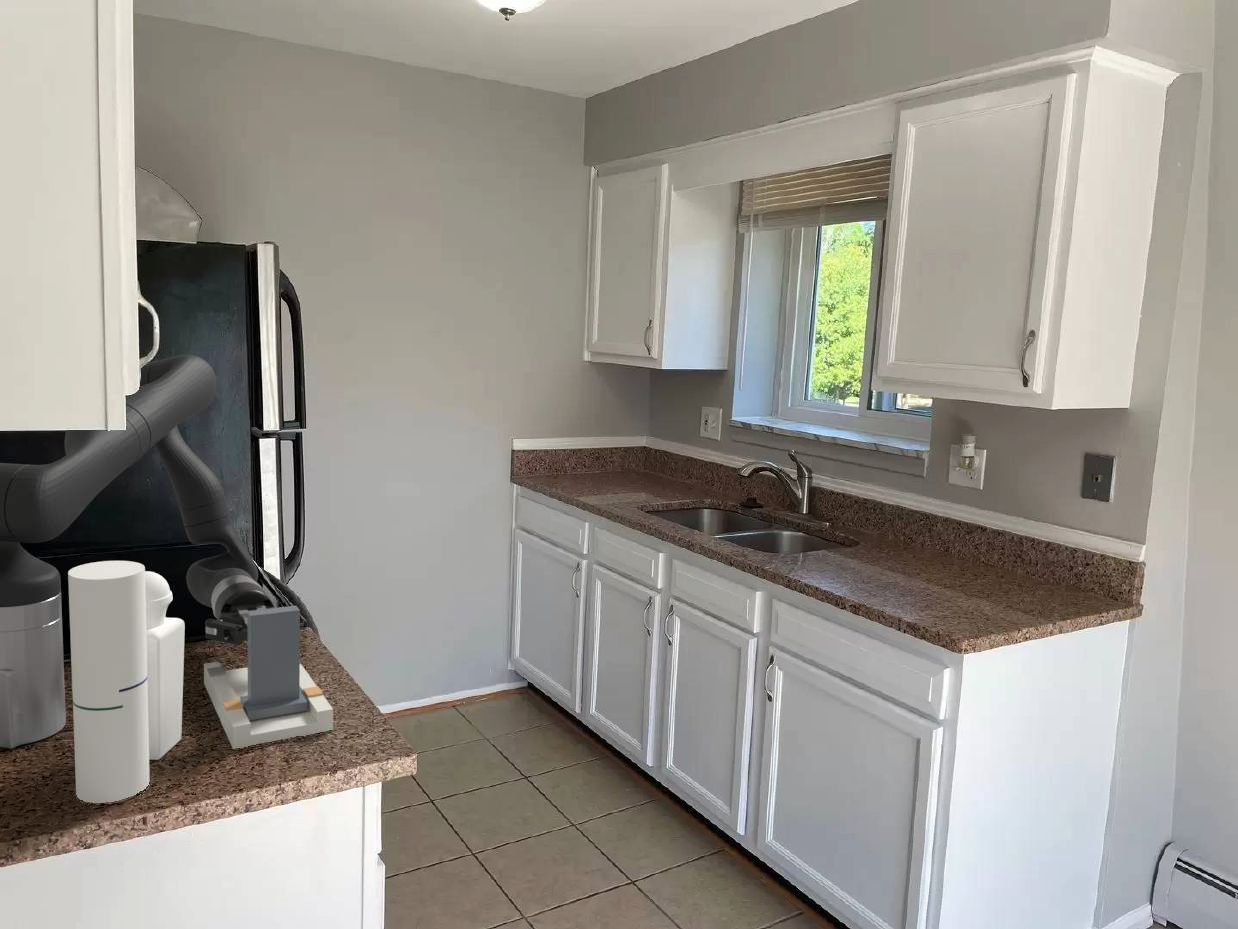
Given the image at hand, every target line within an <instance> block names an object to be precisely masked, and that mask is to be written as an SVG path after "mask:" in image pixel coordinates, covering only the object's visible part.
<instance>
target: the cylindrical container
mask: <svg viewBox="0 0 1238 929" xmlns="http://www.w3.org/2000/svg"><path fill="white" fill-rule="evenodd" d="M145 571H146V567H145V565H144V564H143V563H140V562H136V561H130V560H102V561H96V562H89V563H84V564H80V565H77V566H75V567H72V568H71V569H69V570H68V572H67V575H68V576H67V580H68V598H69V599H68V606H69V607H68V609H69V610H68V611H69V629H70V630H69V631H70V661H71V663H70V664H71V688H72V689H71V690H72V691H71V692H72V714H73V740H74V769H75V770H74V771H75V772H74V773H75V776H74V777H75V796H76V795H77V797H78V798H79V799H80V800H83V801H85V802H90V803H91V802H92V803H105V802H114V801H119V800H122V799H125V798H128V797H131V796H134V795H136V794H137V793H139V792H140V791H143V790H144V789H146V787H147V786H148V785H149V786H150V784H149V782H150V760H149V730H148V688H147V642H146V597H145ZM146 790H147V789H146ZM77 797H76V798H77Z"/></svg>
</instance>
